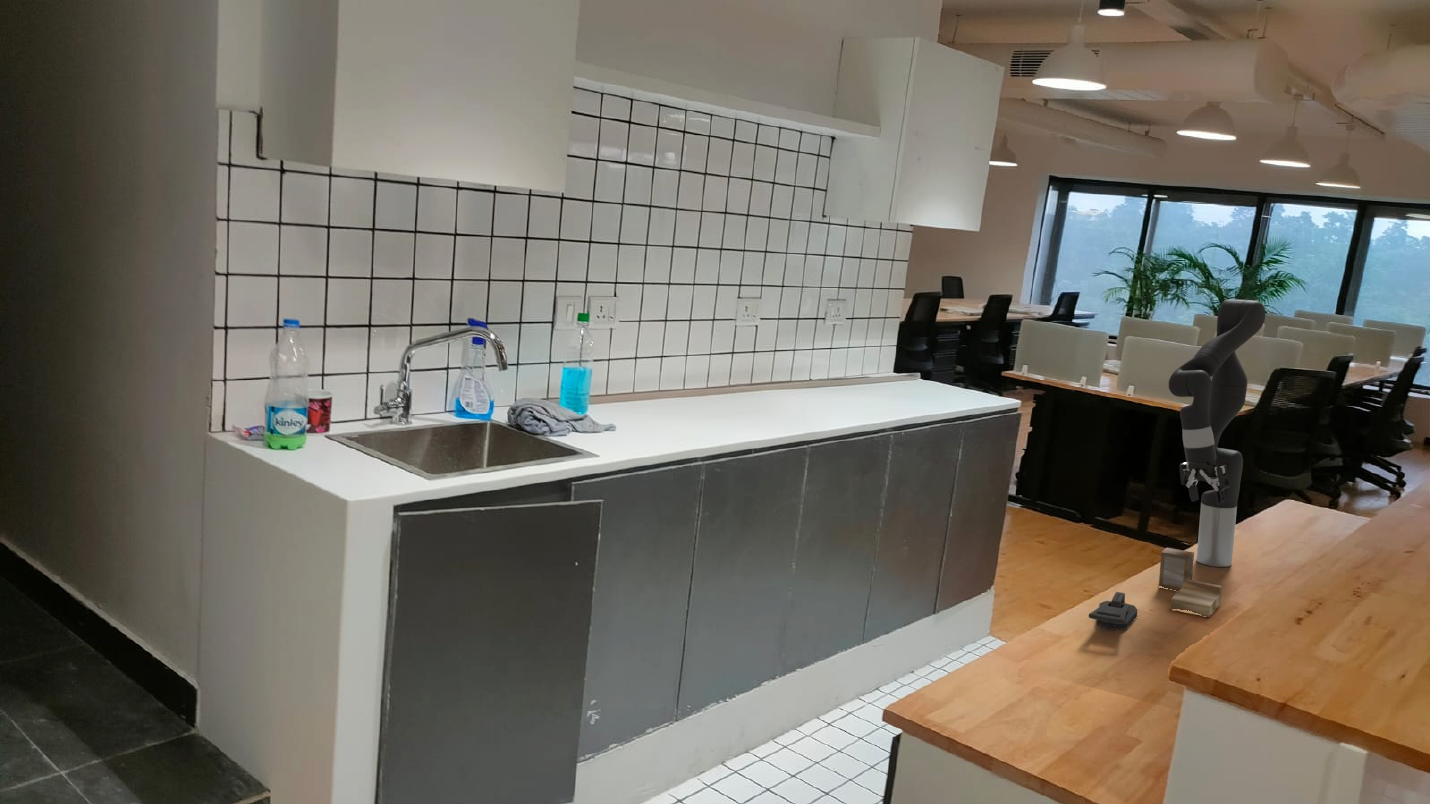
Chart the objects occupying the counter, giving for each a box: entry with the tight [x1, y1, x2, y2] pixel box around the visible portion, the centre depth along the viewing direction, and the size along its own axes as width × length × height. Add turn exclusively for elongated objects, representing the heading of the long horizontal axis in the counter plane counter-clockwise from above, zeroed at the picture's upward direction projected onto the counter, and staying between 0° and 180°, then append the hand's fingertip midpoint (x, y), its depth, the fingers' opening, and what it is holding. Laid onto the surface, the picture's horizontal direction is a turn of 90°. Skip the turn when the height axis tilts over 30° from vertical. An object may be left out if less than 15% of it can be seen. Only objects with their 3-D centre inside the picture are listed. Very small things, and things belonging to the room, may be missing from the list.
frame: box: [1158, 547, 1195, 592], centre depth 284 cm, size 5×7×10 cm
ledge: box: [1169, 579, 1223, 618], centre depth 270 cm, size 12×9×5 cm
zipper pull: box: [1088, 591, 1138, 631], centre depth 257 cm, size 9×7×25 cm
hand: (1207, 502), depth 288 cm, fingers open, 8 cm apart
